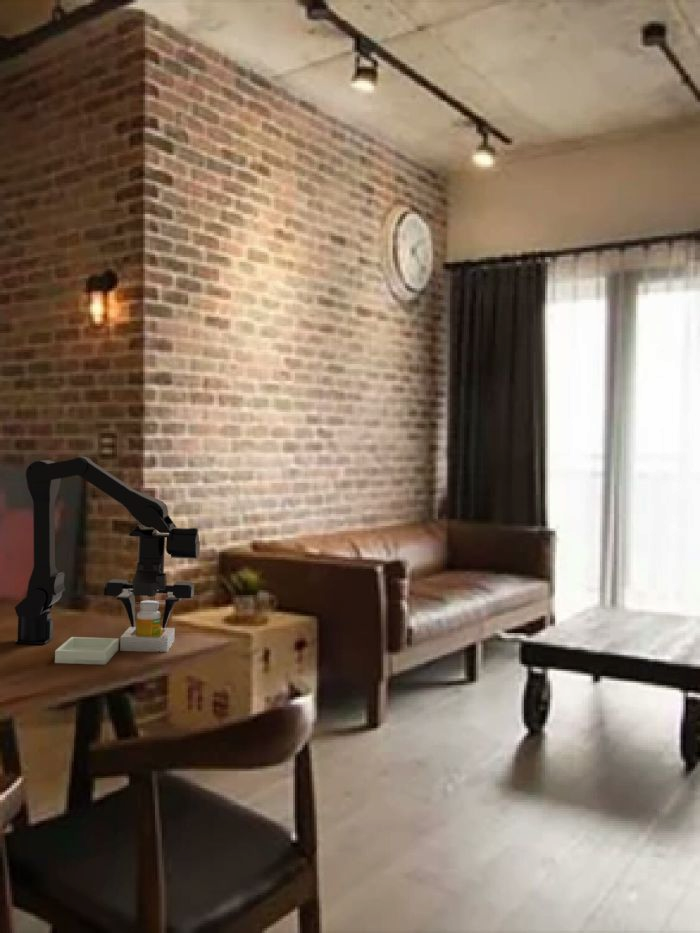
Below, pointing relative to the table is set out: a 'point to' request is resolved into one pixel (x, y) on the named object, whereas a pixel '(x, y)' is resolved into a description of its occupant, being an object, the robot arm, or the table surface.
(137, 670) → the table surface
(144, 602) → the supplement bottle
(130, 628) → the sleeve holder
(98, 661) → the tray
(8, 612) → the table surface
